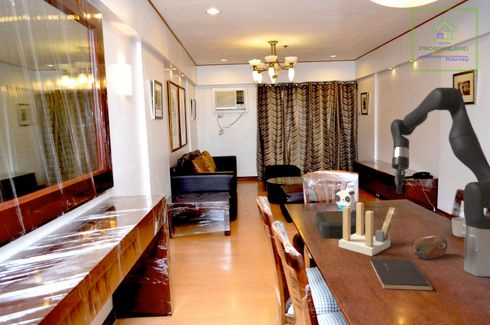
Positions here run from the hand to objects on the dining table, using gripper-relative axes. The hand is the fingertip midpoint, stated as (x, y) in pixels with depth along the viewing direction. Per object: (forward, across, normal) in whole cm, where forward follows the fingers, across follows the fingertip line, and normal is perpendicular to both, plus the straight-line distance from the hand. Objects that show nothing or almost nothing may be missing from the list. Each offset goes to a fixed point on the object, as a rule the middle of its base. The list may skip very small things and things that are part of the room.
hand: (399, 193), depth 165 cm
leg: (+22, +2, -6) cm, 23 cm away
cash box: (+19, -19, -25) cm, 36 cm away
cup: (+14, -15, +31) cm, 37 cm away
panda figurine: (+4, -47, -22) cm, 52 cm away
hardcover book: (+39, +27, -4) cm, 48 cm away
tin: (+28, +9, +11) cm, 32 cm away
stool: (+27, +2, -14) cm, 30 cm away
